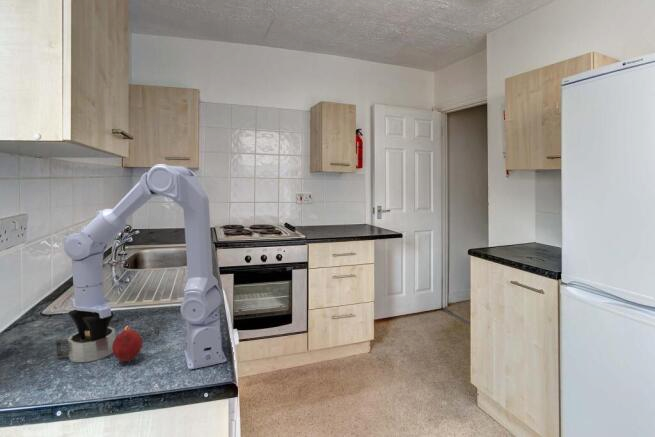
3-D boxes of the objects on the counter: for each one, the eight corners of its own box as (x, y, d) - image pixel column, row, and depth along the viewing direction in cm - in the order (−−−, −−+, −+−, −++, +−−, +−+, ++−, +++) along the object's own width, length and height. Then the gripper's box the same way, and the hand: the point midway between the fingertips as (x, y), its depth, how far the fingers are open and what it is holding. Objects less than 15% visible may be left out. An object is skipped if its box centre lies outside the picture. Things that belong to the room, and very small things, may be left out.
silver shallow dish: (114, 357, 81) (113, 338, 80) (53, 368, 76) (51, 348, 75) (117, 341, 89) (116, 324, 88) (62, 351, 84) (60, 332, 83)
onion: (139, 365, 77) (138, 330, 76) (109, 369, 75) (107, 333, 75) (145, 353, 82) (143, 320, 82) (117, 357, 81) (115, 323, 80)
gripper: (123, 284, 81) (126, 342, 82) (92, 275, 88) (95, 328, 90) (89, 292, 75) (93, 354, 76) (59, 282, 82) (63, 338, 84)
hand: (92, 341), depth 82 cm, fingers open, 5 cm apart
